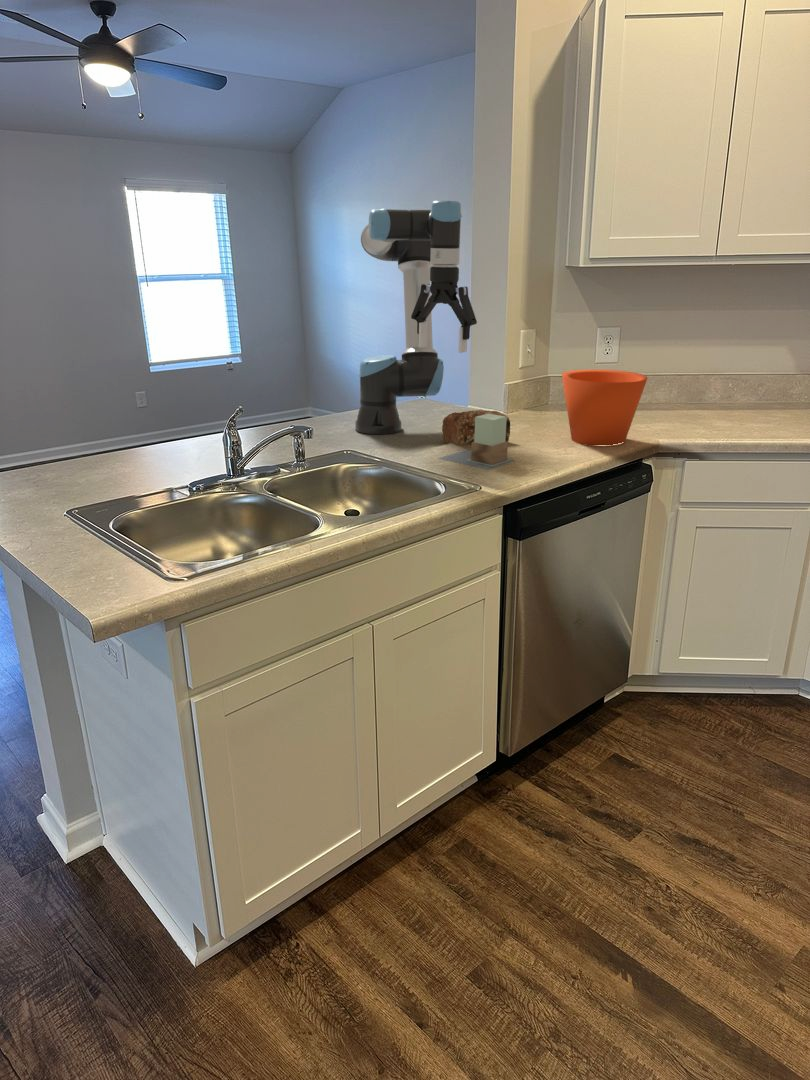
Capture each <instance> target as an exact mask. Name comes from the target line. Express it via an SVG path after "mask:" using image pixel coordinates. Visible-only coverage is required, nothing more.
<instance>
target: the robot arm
mask: <svg viewBox="0 0 810 1080" xmlns="http://www.w3.org/2000/svg"><path fill="white" fill-rule="evenodd" d="M461 207H462V205H461V203H460V201H458V200H433V201H432V202H431V209H390V208H389V209H386V208H380V209H372V210H370V212H369V214H368V215H369V216H368V224H367V225H366V226H365V227H364V228H363V229H362V231H361V234H360V235H361V236H360V243H361V247H362V248H363V249H362V250H364V252H365V253H366V254H368V255H369V256H371V257H372V258H375V259H377V260H380V261H384V262H397V268H398V269H399V271H401V272H402V275H403V299H404V300H403V301H404V303H403V304H404V326H405V328H404V329H405V332H404V333H405V350H404V351H403V352H402V353H401V359H397V356H396V355H394V354H383V355H381V354H380V355H376V356H370V357H367V358H364V359H362V360H361V361H360V363H359V374H358V377H359V399H360V400H359V403H360V404H359V405H360V406H359V409H358V412H357V418H356V420H355V423H354V425H355V428H354V429H355V431H357V432H358V433H362V434H369V435H387V434H388V435H389V434H394V433H398V432H400V431H402V420H401V419H400V415H399V411H398V406H397V398H399V397H400V398H401V397H402V398H403V397H423V398H424V397H430V396H431V397H432V396H437V395H438V394H439V393H440V391H441V388H442V384H443V378H444V370H445V369H444V360H443V359H442V358H441V357H439V355H438V351H436V350H435V349H434V348H433V345H434V344H433V321H432V320H433V319H432V316H433V315H432V312H433V309H434V308H436V305H437V304H444V305H447V304H448V306H449V307H450V308H451V310H453V313H454V314H455V316H456V318H457V319H458V321H459V323H460V326H459V327H458V328H459V329H458V353H459V354H460V353H461V354H462V353H467V351H468V340H469V339H470V336H471V335H470V331H471V326H474V325H477V324H478V322H477V318H476V315H475V311H474V309H473V306H472V303H471V300H470V297H469V287H468V286H460V287H459V286H458V283H459V279H460V277H459V276H460V268H459V267H458V266H459V265H460V257H461V256H460V254H461V253H460V252H461V251H460V248H461V247H460V245H461V221H462V220H461V218H462V208H461ZM457 295H458V296H457Z"/></svg>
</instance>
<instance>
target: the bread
mask: <svg viewBox="0 0 810 1080" xmlns="http://www.w3.org/2000/svg"><path fill="white" fill-rule="evenodd" d="M485 414H494V415H500V416H506V417H507V420H506V439H505V442H508V443H509V440H510V436H511V421H510V418H509V416H507V415H506V414H503V413H502V412H500V411H497V410H485V409H484V410H483V409H475V410H474V409H473V410H468V411H466V410H465V411H461V412H452V413H450V414H448V415H446V416H444V418H443V419H442V426H441V430H442V439H443V440H442V441H443V442H444V443H445V444H446V445H449V444H453V445H456V446H464V445H465V446H466V445H472V442H474V437H475V417H477V416H481V415H485Z"/></svg>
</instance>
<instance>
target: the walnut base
mask: <svg viewBox="0 0 810 1080" xmlns="http://www.w3.org/2000/svg"><path fill="white" fill-rule="evenodd" d="M508 444H509V441H508V442H504V443H501V444H498V445H495V446H489V445H484V444H479V443H474V442H472V444H471V449H470V450H471V460H472V461H476V462H481V463H485V464H490V465H493V464H496V463H499V462H502V461H505V460H507V458H508V449H509V447H508V446H509V445H508Z"/></svg>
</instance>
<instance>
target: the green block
mask: <svg viewBox="0 0 810 1080" xmlns="http://www.w3.org/2000/svg"><path fill="white" fill-rule="evenodd" d="M506 416H507V415H506ZM506 416H500V415H494V414H485V415H481V416H477V417H475V437H474V443H479V444H484V445H489V446H495V445H498V444H501V443H504V442H505V439H506V420H507V417H508V416H507V417H506Z"/></svg>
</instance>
